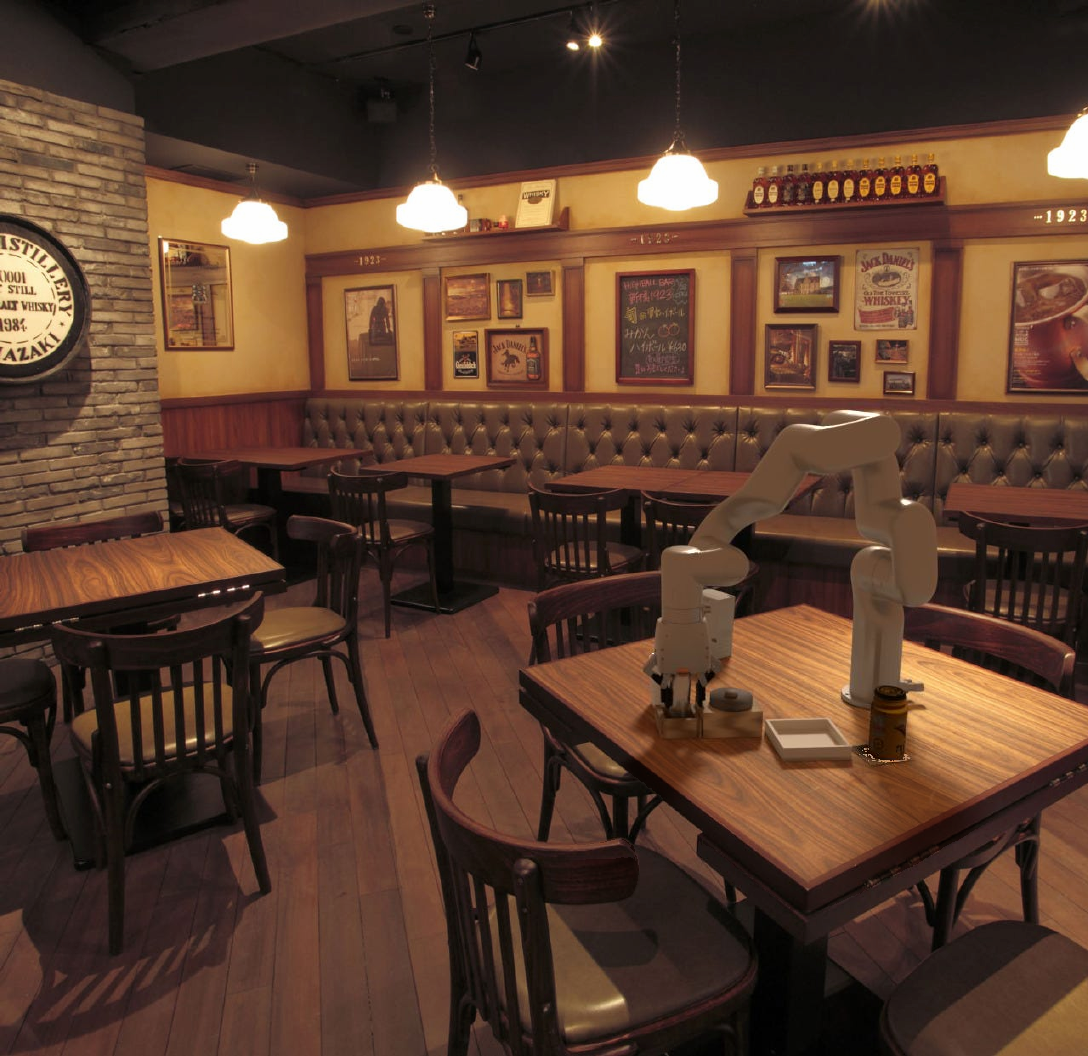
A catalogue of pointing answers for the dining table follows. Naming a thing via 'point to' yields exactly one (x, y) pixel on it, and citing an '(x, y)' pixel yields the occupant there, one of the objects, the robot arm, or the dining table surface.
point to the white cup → (655, 688)
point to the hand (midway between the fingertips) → (682, 704)
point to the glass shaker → (680, 694)
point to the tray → (807, 739)
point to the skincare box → (720, 621)
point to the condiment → (886, 726)
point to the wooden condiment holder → (715, 717)
